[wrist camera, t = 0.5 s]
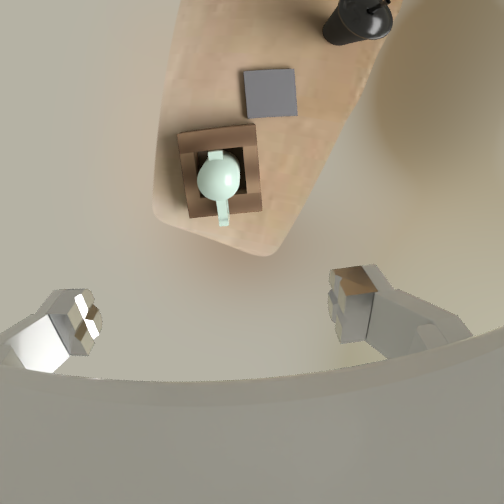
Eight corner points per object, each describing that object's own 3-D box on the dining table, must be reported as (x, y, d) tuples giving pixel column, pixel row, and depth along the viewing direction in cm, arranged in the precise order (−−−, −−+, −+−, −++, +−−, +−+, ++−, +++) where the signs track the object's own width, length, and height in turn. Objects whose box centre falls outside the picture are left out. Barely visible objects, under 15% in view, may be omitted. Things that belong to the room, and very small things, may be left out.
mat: (243, 72, 42) (243, 71, 41) (293, 69, 42) (294, 68, 41) (247, 118, 46) (247, 118, 45) (296, 115, 46) (297, 115, 45)
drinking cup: (308, 41, 40) (347, 8, 22) (322, 7, 37) (365, -37, 19) (349, 60, 41) (407, 42, 23) (362, 26, 38) (422, -3, 20)
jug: (201, 145, 48) (193, 154, 40) (237, 141, 48) (236, 149, 40) (209, 208, 53) (204, 228, 45) (243, 205, 53) (244, 225, 45)
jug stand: (181, 132, 46) (176, 134, 43) (254, 123, 46) (255, 125, 43) (193, 210, 53) (189, 218, 49) (260, 203, 53) (262, 211, 49)
